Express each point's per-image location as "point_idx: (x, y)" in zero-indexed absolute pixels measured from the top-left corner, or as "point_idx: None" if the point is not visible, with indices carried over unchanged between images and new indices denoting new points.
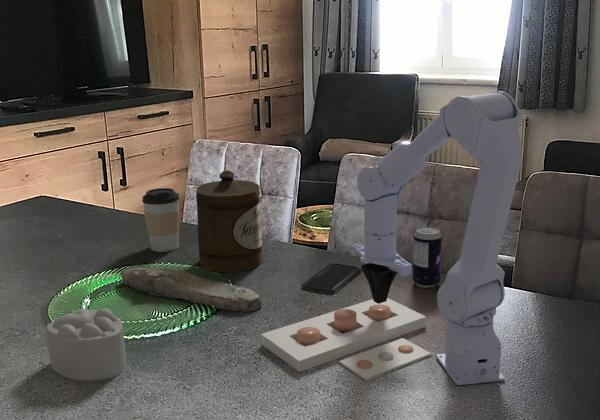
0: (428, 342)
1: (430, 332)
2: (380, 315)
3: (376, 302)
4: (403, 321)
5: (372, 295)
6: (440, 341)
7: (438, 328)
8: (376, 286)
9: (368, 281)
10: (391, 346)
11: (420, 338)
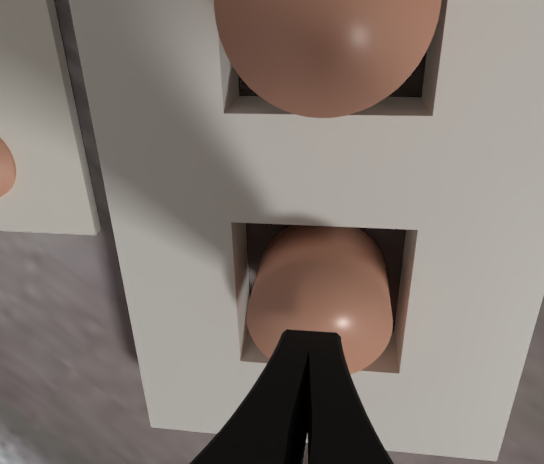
0: (34, 297)
1: (113, 364)
2: (261, 277)
3: (301, 331)
4: (159, 327)
5: (337, 360)
6: (23, 336)
7: (130, 406)
8: (242, 434)
9: (374, 458)
10: (33, 124)
11: (82, 299)
